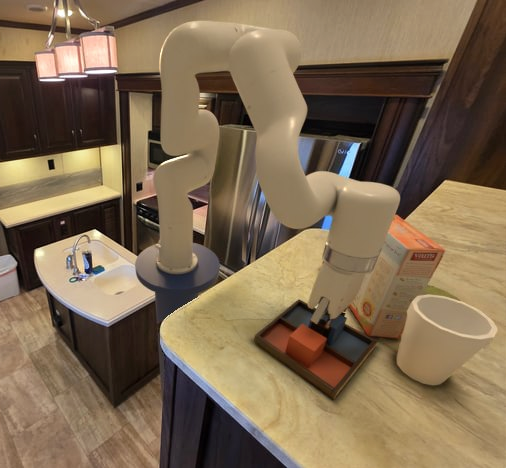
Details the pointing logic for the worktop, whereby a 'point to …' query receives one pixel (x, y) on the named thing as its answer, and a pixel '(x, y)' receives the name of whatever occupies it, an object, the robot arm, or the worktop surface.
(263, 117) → the robot arm
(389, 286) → the cracker box
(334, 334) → the slate-blue block
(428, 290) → the mat
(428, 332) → the foam cup
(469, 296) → the worktop surface
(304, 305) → the sorting tray
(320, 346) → the terracotta block
